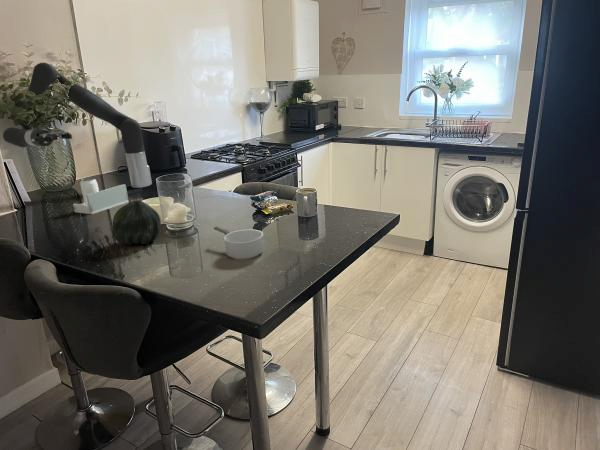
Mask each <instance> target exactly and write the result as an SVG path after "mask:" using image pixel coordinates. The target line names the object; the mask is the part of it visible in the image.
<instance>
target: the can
mask: <svg viewBox="0 0 600 450" xmlns="http://www.w3.org/2000/svg"><path fill="white" fill-rule="evenodd" d="M79 185H80V188H81V194H82V198H83V203H85V205H88V201H87V197H86V195H88V194H92V193H95V192H99V191H100V189H99V185H98V182H97V180H96V177H87V178H82V179H80V184H79Z"/></svg>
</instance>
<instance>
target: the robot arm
mask: <svg viewBox="0 0 600 450" xmlns="http://www.w3.org/2000/svg"><path fill="white" fill-rule="evenodd" d="M32 70H33V71H32V75H31V79H30V84H29V86H28V89H27V92H28V91H30V92H31V91H32V92H34V93H35V94H36V95H39V94H42V93H43V92H45V93H46V92H47V89H48V88H50V87H49V85H50V84H51V83H53V82H54V81H55V80H56V79H58V80H59V82H60V83H61V84H64V83H65V82H66V81H67V80H69V79H68V78H67V77H66V76H64V75H63V74H62V73H60V72H59V71H58V70H56V69H55V67H54V66H52V65H51V64H50V63H48V62H40V63H37V64H36V65H34V67H33V69H32ZM57 75H59V76H60V77H57ZM68 96H69V99H70V100H69V99H68V100H69V101H70V102H72V103H73V104H74V105H76V106H77V107H78V108H80V109H81V110H83V111H85V112H86V113H88V114H89V115H91V116H93V117H95V118H97V119H100V120H102V121H104V122H106V123H108V124H110V125H111V126H113V127H114V128H116V129H117V130H119V131H120V135H121V140H122V145H123V149H124V155H125V158H126V164H127V165H126V166H127V169H128V174H129V180H130V184H131V188H135V189H138V188H145V187H149V186H151V185H152V184H153V181H152V177H151V170H150V166H149V165H148V161H147V157H146V151H145V144H144V138H143V133H142V127H141V125H140V122H138V120H135V119H134V118H131V117H129V116H127V115H126V114H124V113H122V112H121V111H119V110H117V109H116V108H115V107H114V106H113V105H111V104H110V103H108V102H107V101H105V100H104V99H102V98H101V97H100V96H98V94H96V93H94V92H93V91H91V90H89V89H87V88H85V87H84V86H81V85H80V84H78V83H75V84H74V85H73V86H71V88H70V89H69V93H68ZM23 107H25V106H22V108H23ZM25 108H26V107H25ZM27 109H28V108H27ZM28 110H29V109H28ZM17 124H18V125H19V126H21V128H20V127H19V128H18V127H13V126H12V127H7V128H6V129H5V130H3V133H2V138H3V140H4V141H5V142H6V143H8V144H10V145H12V146H13V145H14V146H15V147H16V146H17V147H20V148H26V147H28V146H29V147H31V146H33V147H49V146H50V145H51V144H53V143H55V142H58V141H59V142H61V141H63V140H72V139H73V135H72V133H70V132H69V131H67V132H66V131H65V132H60V131H59V132H51V131H50V130H48V129H46V128H33V125H34V123H33V124H28V125H24V124H23V122H17Z"/></svg>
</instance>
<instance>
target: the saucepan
mask: <svg viewBox="0 0 600 450" xmlns="http://www.w3.org/2000/svg"><path fill="white" fill-rule="evenodd" d="M213 230H215V231H218V232H220V233H223V234H224V235H223V239H222V240H224V243H225V252H226V255H227V256H228V257H230V258H232V259H236V260H247V259H252V258H255V257H257V256H258V255H260V254H262V253H263V251H265V249H264V239H263V236H264V232H263V231H262V230H260V229H259V230H257V229H240V230H235V231H231V232H230V231H229V230H227V229H224V228H222V227H219V226H214V227H213Z"/></svg>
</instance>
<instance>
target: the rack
mask: <svg viewBox="0 0 600 450" xmlns="http://www.w3.org/2000/svg"><path fill="white" fill-rule="evenodd" d="M86 197H87V201H88V205H85V203H84V202H83V203H73V204H72V206H73V210H74V213H79V214H86V215H94V214H97V213H100V212H103V211H106V210H109V209H111V208H112V209H113V208H115V207H118V206H121V205H125V204H128V203H130V200H129V196H128V191H127V186H126V183H124V184H119V185H116V186H113V187H112V186H111V187H109V188H107V189H102V190H99V192H95V193H92V194H88V195H86Z"/></svg>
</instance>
